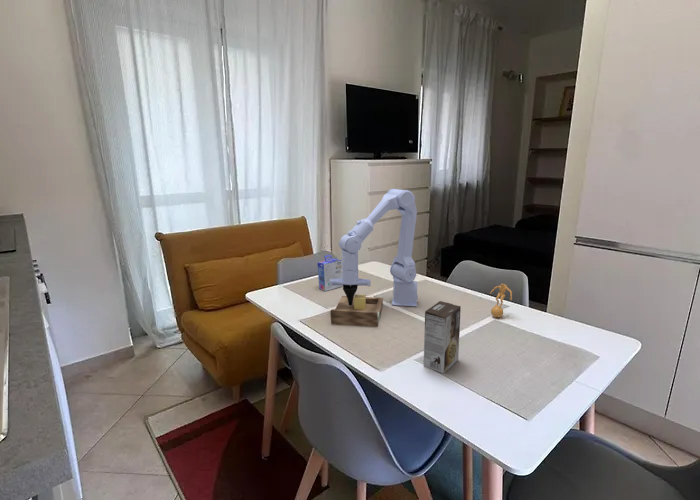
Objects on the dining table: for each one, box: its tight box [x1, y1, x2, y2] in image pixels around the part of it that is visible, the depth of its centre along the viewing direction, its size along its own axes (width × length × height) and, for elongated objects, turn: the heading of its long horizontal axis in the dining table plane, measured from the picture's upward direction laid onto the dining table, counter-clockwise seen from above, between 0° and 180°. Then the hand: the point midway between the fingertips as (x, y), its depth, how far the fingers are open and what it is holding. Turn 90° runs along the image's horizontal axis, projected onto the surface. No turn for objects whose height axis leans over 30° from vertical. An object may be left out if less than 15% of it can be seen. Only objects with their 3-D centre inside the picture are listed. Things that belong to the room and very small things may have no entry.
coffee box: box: [423, 300, 462, 374], centre depth 101 cm, size 9×6×16 cm
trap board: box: [330, 295, 384, 328], centre depth 137 cm, size 16×21×5 cm
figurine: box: [489, 283, 513, 318], centre depth 131 cm, size 8×6×12 cm
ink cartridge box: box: [317, 254, 343, 292], centre depth 164 cm, size 10×6×14 cm, turn 129°
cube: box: [354, 294, 367, 309], centre depth 136 cm, size 4×4×4 cm
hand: (350, 304), depth 137 cm, fingers closed
